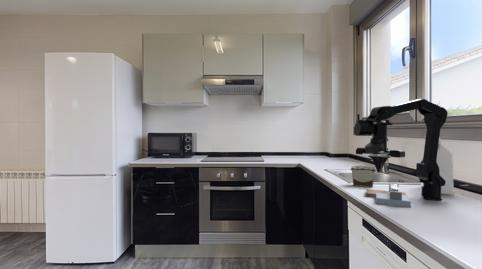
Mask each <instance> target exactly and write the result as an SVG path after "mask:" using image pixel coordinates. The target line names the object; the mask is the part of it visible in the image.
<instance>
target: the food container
mask: <svg viewBox="0 0 482 269" xmlns="http://www.w3.org/2000/svg"><path fill="white" fill-rule="evenodd" d="M350 171H351V176H352V186H355V187H364V188H366V187H367V188H373V186H374V179H375V173H377V170H376V167H373V166H368V165H366V166H365V165H352V166H351V168H350Z"/></svg>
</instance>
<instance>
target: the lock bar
mask: <svg viewBox="0 0 482 269" xmlns="http://www.w3.org/2000/svg"><path fill="white" fill-rule="evenodd" d="M388 183H389V184H388V191H389V192H390V191H397V192H399V186H400V185H399V184H398V183H395V182H393V183H391V182H388Z"/></svg>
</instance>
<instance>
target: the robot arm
mask: <svg viewBox="0 0 482 269" xmlns="http://www.w3.org/2000/svg"><path fill="white" fill-rule="evenodd" d="M411 111H418V113H419V114H420V115H421V116H423V121H424V124H425V126H426V132H425V133H426V134H425V141H424V149H423V151H424V155H423V154H422V159H423V160H422V159H421V161H420V162H417V163H416V166H415V167H416V168H415V171H414V172H415V173H416V176H417V178H418V181H419V183H420V184H421V183H423V186H421V185H420V188H421V190H420V195H421V197H422V198H423V199H426V200H435V201H442V199H443V198H442V194H441V186H444V185H445V182H446V181H445V180H444V179H443V178H442V177H441V176H440V171H439V166H438V164H437V162H436V160H437V152H438V145H439V138H441V137H440V136H441V129H442V127H443V126H444V125H445V123H446V121H447V118H448V115H449V114H448V112H449V111H448V110H447V109H446V108H445V107H444V106H440V105H438V104H437V103H436V104H435V103H434V102H430V101H429V100H428V99H425V98H418V99H415V100H410V101H407V102H402V103H400V104H396V105H395V104H394V105H385V106H384V105H383V106H375V107H373V108H372V109H371V110H370V114H369V115H368V116H367V117H366V118H365V120H363V119H356V123H355V124H354V127H353V133H354V135H355V136H356V137H361V136H362V137H372V138H370V141H369V143H367V144H365V145H364V147H356V149H355V155H363V154H365V155H366V154H367V155H368V156H367V158H370V159H371V160H372V161H373V163H374V164H373V165H374V166H375V167H374V168H375V169H376V173H382V170H383V168H384V165H385V164H386V162H387V160H388V159H390V158H397V159H398V158H399V159H400V158H406V151H405V149H389V147H388V141H389V138H388V126H393V122H391V121H390V120H389V119H391V118H393V117H394V116H395V115H399V114H402V113H407V112H411Z"/></svg>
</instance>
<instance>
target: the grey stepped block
mask: <svg viewBox="0 0 482 269" xmlns="http://www.w3.org/2000/svg"><path fill="white" fill-rule="evenodd" d="M402 192H403V191H398V192H397V191H390V194H385V193H376V197H375V201H376V202H375V203H376V204H378V205H389V206H399V207H406V208H407V207H409V208H411V207H412V206H411V204H412V202H411V199H410V197H409V195H407V194H406V195H402Z"/></svg>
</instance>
